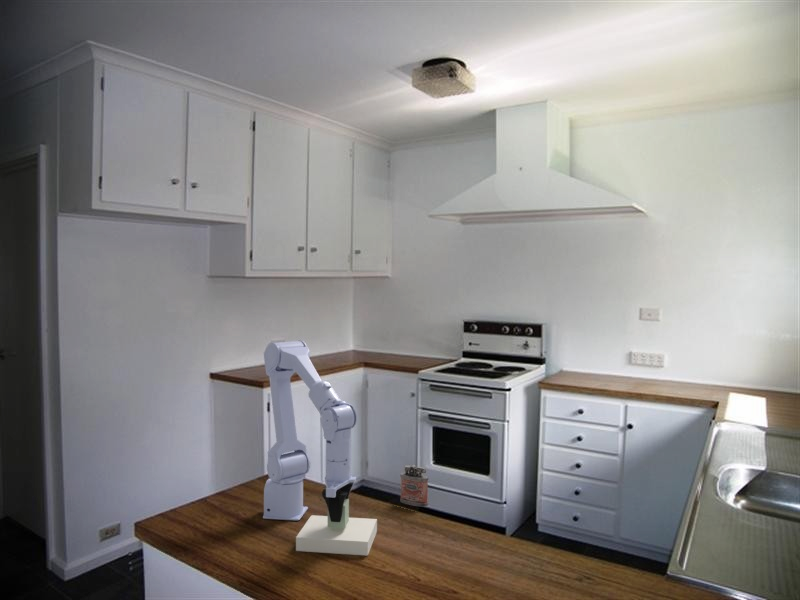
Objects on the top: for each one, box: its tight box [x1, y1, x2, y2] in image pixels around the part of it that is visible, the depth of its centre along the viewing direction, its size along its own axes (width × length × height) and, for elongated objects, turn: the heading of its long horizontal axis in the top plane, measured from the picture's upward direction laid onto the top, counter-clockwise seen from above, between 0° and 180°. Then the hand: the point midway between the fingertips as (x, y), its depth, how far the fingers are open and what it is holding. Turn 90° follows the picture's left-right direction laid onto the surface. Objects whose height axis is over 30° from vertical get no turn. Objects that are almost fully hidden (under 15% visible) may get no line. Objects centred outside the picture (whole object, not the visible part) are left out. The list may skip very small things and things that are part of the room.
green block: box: [327, 498, 350, 528], centre depth 126 cm, size 4×4×5 cm
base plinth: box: [295, 514, 378, 557], centre depth 126 cm, size 16×12×3 cm
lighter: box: [399, 464, 429, 508], centre depth 149 cm, size 8×3×10 cm, turn 62°
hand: (338, 517), depth 126 cm, fingers closed on green block, 4 cm apart
